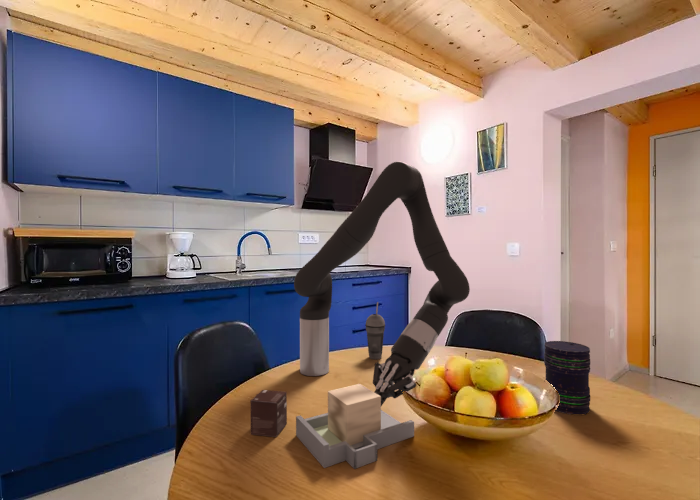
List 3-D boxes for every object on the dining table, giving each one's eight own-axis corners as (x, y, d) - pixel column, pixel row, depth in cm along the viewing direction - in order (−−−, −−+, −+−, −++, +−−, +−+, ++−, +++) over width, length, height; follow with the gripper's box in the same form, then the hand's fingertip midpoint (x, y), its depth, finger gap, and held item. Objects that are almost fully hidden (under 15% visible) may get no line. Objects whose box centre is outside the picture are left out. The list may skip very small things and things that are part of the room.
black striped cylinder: (579, 419, 82) (580, 354, 82) (536, 404, 90) (536, 344, 90) (597, 407, 88) (597, 347, 88) (555, 394, 96) (555, 338, 96)
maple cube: (327, 428, 76) (327, 391, 76) (359, 419, 80) (359, 383, 80) (347, 446, 69) (347, 405, 69) (380, 435, 73) (380, 396, 73)
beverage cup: (375, 353, 134) (375, 299, 134) (389, 357, 128) (389, 301, 128) (361, 357, 129) (360, 301, 129) (375, 361, 123) (375, 304, 123)
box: (276, 438, 74) (276, 402, 74) (249, 435, 75) (249, 400, 75) (287, 424, 80) (287, 391, 80) (262, 421, 81) (262, 389, 81)
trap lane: (290, 429, 78) (290, 410, 78) (370, 407, 88) (370, 390, 88) (331, 477, 61) (331, 454, 61) (424, 443, 72) (424, 423, 72)
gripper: (388, 328, 87) (345, 388, 81) (426, 339, 76) (379, 411, 70) (405, 346, 90) (364, 406, 84) (444, 360, 79) (400, 430, 73)
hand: (371, 408), depth 77 cm, fingers closed
